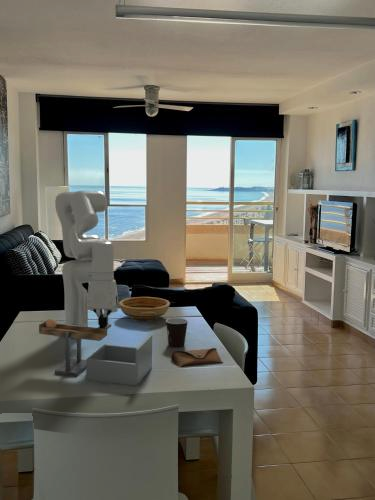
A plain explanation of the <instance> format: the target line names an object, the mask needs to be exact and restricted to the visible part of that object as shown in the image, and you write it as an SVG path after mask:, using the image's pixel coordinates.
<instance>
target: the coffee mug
mask: <svg viewBox="0 0 375 500" xmlns="http://www.w3.org/2000/svg"><path fill="white" fill-rule="evenodd" d="M165 325H166V334H167V343H168V346H169V347H170V348H173V347H174V348H175V349H178V348H183V347H185V342H186V336H187V329H188V319H186V318H182V317H181V318H180V317H171V318H168V319H166V320H165Z"/></svg>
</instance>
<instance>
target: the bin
mask: <svg viewBox="0 0 375 500" xmlns="http://www.w3.org/2000/svg"><path fill="white" fill-rule="evenodd" d="M85 360H86V369H85V372H86V373H85V375H86V376H85V377H86V381H92V382H101V383H110V384H119V385H128V386H133V387H134V386H135V387H138V386H139V385H140V384H141V383H142V381H143V380H144V379H145V377H147V375H148V374H149V372H150V371H152V368H153V334H150V335H148V337H146V339H144V341H142V342H141V344H140V345H139V346H138V347H135V346H125V345H116V344H115V345H114V344H105V343H104V344H103V345H102V346H100V347H99V348H98V349H97V350H95V352H93V353H92V354H91V355H89V357H87V358H86V359H85Z"/></svg>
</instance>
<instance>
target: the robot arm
mask: <svg viewBox="0 0 375 500" xmlns="http://www.w3.org/2000/svg"><path fill="white" fill-rule="evenodd" d="M54 205H55V212H56V214H57V217H58V219H59V222H60V225H61V232H62V234H61V235H62V245H63V252H64V254H65V256H66V257H68V258H74V259H75V260H70V261H67V262H65V263H64V264H63V265H62V267H61V273H62V279H63V288H64V290H63V291H64V323H63V322H58V323H59V324H68V325H81V326H85V327H89V311H91V312H93V313H94V314H95V315H96V317H97V321H98V323H97V324H98V327H99V328H105V327H107V325H108V324H109V322H108V321H109V316H110V315H111V314H112V313H117V312H118V311H119V309H118V304H119V294H118V286H117V282H116V279H115V276H114V273H115V271H114V270H115V268H114V265H115V263H114V262H115V261H114V260H115V258H114V257H115V256H114V250H115V248H114V243H113V242H111V241H109V240H108V239H106V238H100V237H99V236H98V235H97V234H85V233H88V232H89V231H91V230H93V229H95V227H97V225H98V224H99V217H98V215H97V213H104V212H105V211H106V210H107V208H108V200H107V197H106V195H105V193H104V192H102V191H98V190H78V191H69V192H68V191H66V192H61V193H59V194H57V195H56V196H55V200H54ZM85 283H88V288H87V289H86V288H85V287H84V286H83V284H85Z"/></svg>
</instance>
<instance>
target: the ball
mask: <svg viewBox="0 0 375 500" xmlns="http://www.w3.org/2000/svg"><path fill="white" fill-rule="evenodd" d="M47 320H48V321H47ZM47 320H46V321H47V322H46V328H55V327H56V323H57V322H56V320H55V319H47Z"/></svg>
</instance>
